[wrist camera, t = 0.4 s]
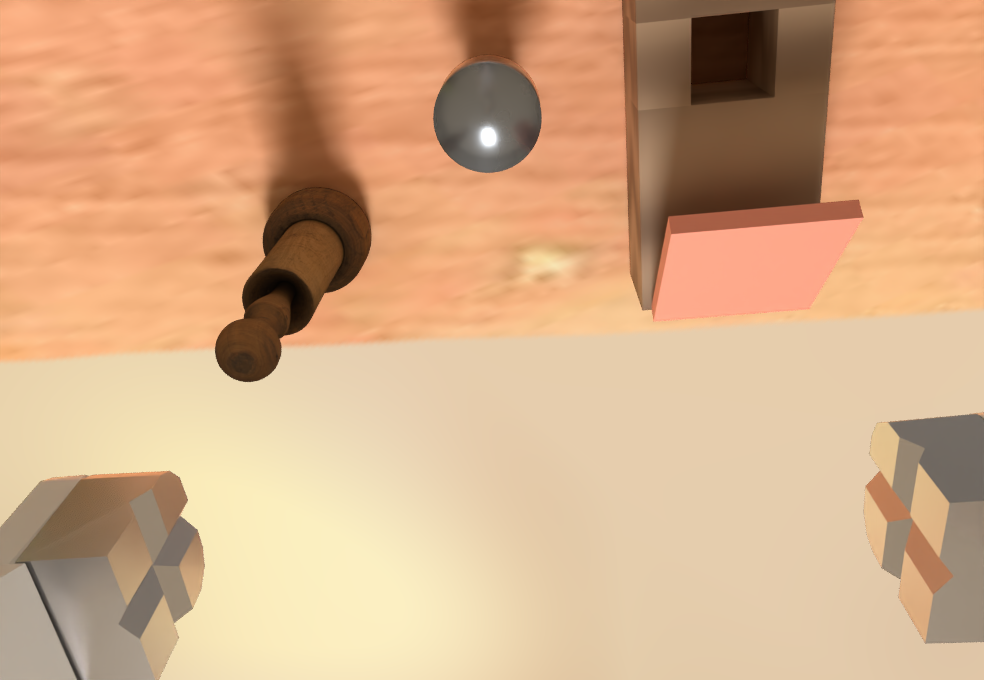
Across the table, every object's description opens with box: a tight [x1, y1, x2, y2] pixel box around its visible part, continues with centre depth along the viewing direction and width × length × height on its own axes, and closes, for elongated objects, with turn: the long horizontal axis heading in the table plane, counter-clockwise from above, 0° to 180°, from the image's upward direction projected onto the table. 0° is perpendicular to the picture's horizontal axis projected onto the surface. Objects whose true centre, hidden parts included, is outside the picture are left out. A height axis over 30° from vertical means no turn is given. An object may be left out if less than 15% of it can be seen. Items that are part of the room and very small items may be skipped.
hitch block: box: [622, 0, 836, 310], centre depth 48 cm, size 18×10×6 cm, turn 6°
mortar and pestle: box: [215, 188, 371, 382], centre depth 46 cm, size 7×6×18 cm
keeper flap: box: [652, 200, 863, 321], centre depth 44 cm, size 10×9×1 cm
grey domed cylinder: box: [433, 55, 541, 173], centre depth 47 cm, size 6×6×8 cm
